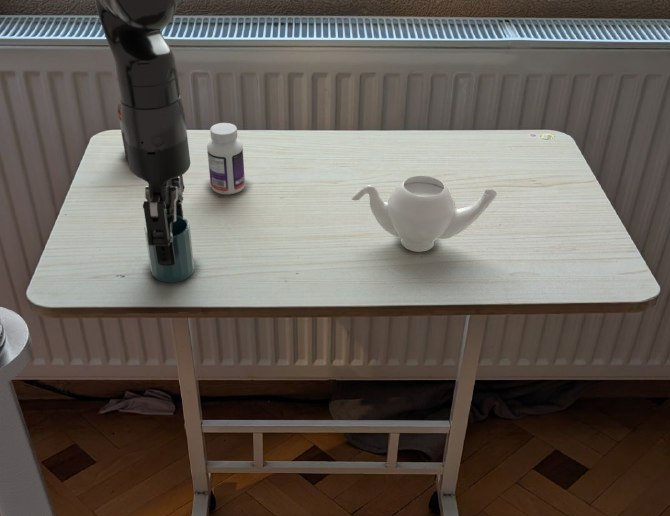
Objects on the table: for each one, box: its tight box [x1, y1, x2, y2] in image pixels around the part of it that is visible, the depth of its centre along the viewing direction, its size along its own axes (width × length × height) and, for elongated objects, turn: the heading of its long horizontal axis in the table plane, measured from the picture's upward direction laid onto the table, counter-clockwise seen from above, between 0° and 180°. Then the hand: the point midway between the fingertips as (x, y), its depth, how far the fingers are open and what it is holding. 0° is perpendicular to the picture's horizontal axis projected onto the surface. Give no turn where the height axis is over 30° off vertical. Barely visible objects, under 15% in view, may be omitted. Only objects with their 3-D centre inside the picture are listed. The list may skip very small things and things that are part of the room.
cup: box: [143, 215, 195, 283], centre depth 112 cm, size 6×6×7 cm
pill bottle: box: [206, 122, 246, 195], centre depth 128 cm, size 5×5×10 cm
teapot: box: [350, 175, 497, 253], centre depth 118 cm, size 10×20×9 cm, turn 82°
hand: (171, 245), depth 112 cm, fingers open, 8 cm apart
